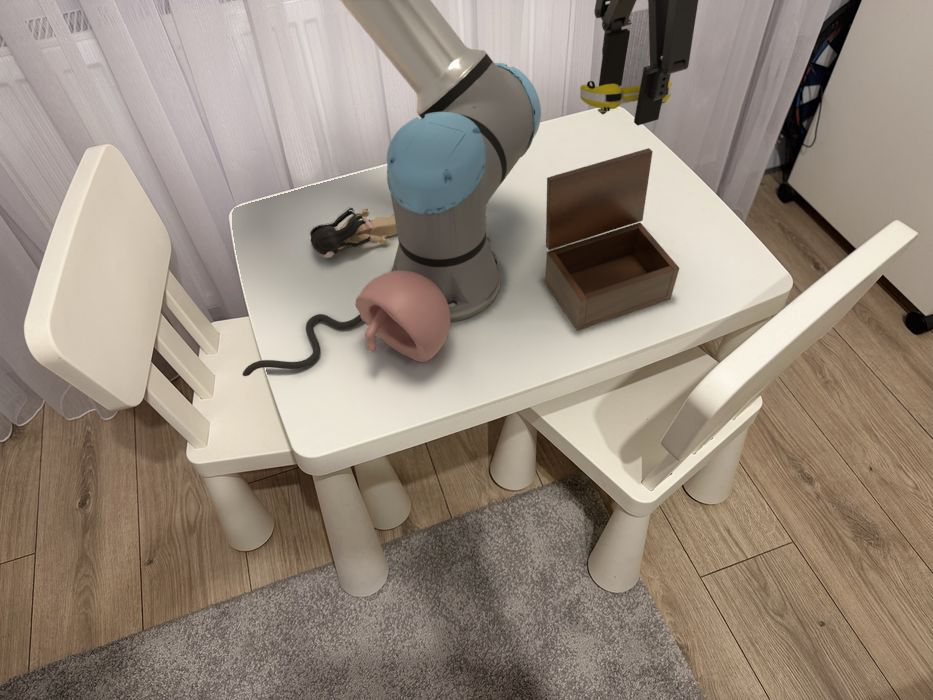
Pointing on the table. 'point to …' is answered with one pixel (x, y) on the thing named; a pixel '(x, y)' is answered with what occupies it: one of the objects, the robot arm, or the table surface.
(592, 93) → the yellow curved piece
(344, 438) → the table surface
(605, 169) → the lid
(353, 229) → the toy figure
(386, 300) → the mortar and pestle
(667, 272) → the chest
